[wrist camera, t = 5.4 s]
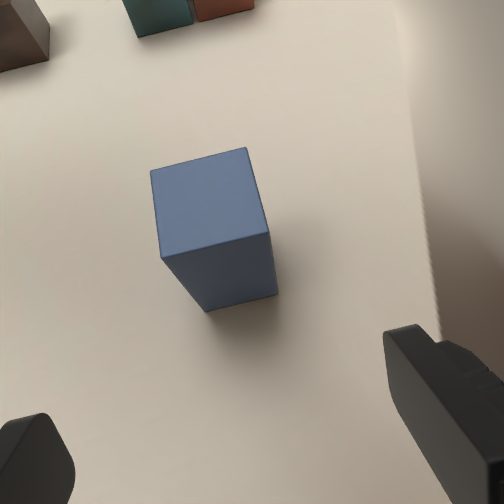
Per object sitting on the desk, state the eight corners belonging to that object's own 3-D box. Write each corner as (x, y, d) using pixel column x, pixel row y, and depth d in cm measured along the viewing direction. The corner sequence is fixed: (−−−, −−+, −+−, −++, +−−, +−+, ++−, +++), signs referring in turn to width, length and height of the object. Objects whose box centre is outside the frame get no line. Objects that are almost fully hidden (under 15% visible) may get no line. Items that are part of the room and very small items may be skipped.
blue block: (204, 312, 23) (160, 259, 15) (193, 245, 25) (149, 170, 17) (278, 294, 23) (269, 231, 15) (261, 228, 24) (246, 145, 17)
